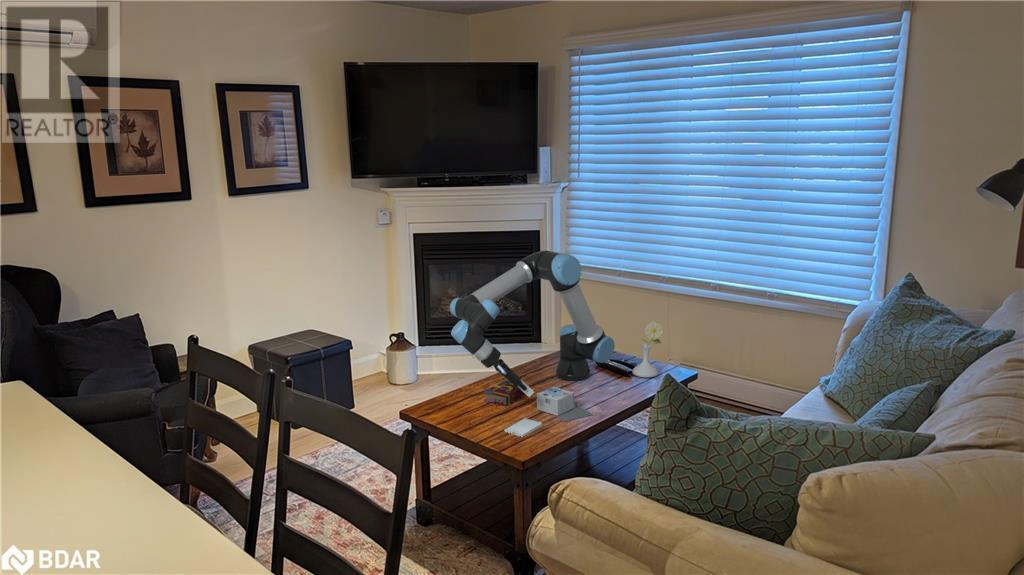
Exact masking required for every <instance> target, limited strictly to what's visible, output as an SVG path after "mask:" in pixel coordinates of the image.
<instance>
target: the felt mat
mask: <svg viewBox="0 0 1024 575" xmlns="http://www.w3.org/2000/svg"><path fill="white" fill-rule="evenodd" d="M574 407H575V408H573V409H571V410H569V411H567V412H565V413H562V414H560V415H558V416H557V415H554V414H552V415H553V416H554V417H556V418H557V419H559V420H561V421H563V422H564V423H567V422H571V421H574V420H578V419H582V418H586V417H591V416H594V414H593V413H592V412H590V411H589V410H587V409H585V408H583V407H581V406H579V405H577V404H576V403H574ZM570 420H571V421H570Z"/></svg>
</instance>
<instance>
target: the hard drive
mask: <svg viewBox="0 0 1024 575" xmlns="http://www.w3.org/2000/svg"><path fill="white" fill-rule="evenodd" d="M542 426H543V422H539V421H536V420H532V419H529V418H525V417H524V418H523V419H521V420H520V421H517V422H515V423H513V424H511V425H510V426H508V427H506V428H505V429H504V431H505V432H504V433H507V432H508V434H510V433H511V434H512V435H514V436H517V437H520V436H521V438H523V436H524V437H525V435H526V436H527V435H529V434H530V433H532V432H534V431H536V430H537V429H540V428H541V427H542ZM511 434H510V435H511Z"/></svg>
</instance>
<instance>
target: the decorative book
mask: <svg viewBox="0 0 1024 575" xmlns="http://www.w3.org/2000/svg"><path fill="white" fill-rule="evenodd" d="M483 393H484V394H485V398H484V402H485V403H486V402H488V403H490V402H491V404H492V403H493V404H497V405H502V406H505V407H508V406H510V405H513V404H515V402H517V401H518V400H519V401H520V400H522V399H523V398H524V397H525V396H527V395H526V394H525V393H524V392H523V391H522V390H521V389H520V388H518V387H517V388H515V385H514V384H513V383H511V382H510V381H509V380H504V381H502V382H500V383H499V384H495V385H493V387H491V388H489V389H486V390H484V392H483Z"/></svg>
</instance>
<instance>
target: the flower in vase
mask: <svg viewBox="0 0 1024 575" xmlns="http://www.w3.org/2000/svg"><path fill="white" fill-rule="evenodd" d="M644 333H645V336H646V337H647V338H648V339H650V341H649V342H648V341H647V340H644V339H642V338H641V340H642V341H644V342H646V343H643V344H640V348H641V349H642V354H643V355H642V361H641V362H640V363H639V364H637V365H636V366H635V367H634V368H633V369H632V371H631V372H632V374H633V375H634V376H637V377H640V378H645V379H648V378H654V377H656V376H658V375H659V371H658V369H657V368H656V367H655V366H654V365H653V364H652V363H650V359H649V355H650V351H651V349H652V348H653V345H651V342H653V344H655V345H659V344H662V341H661V340H660V338H662V336H663V335H664V329H663V326H662V324H661V323H658V322H656V321H652V322H650V323H648V324H646V327H645V329H644ZM647 343H648V344H647Z"/></svg>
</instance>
